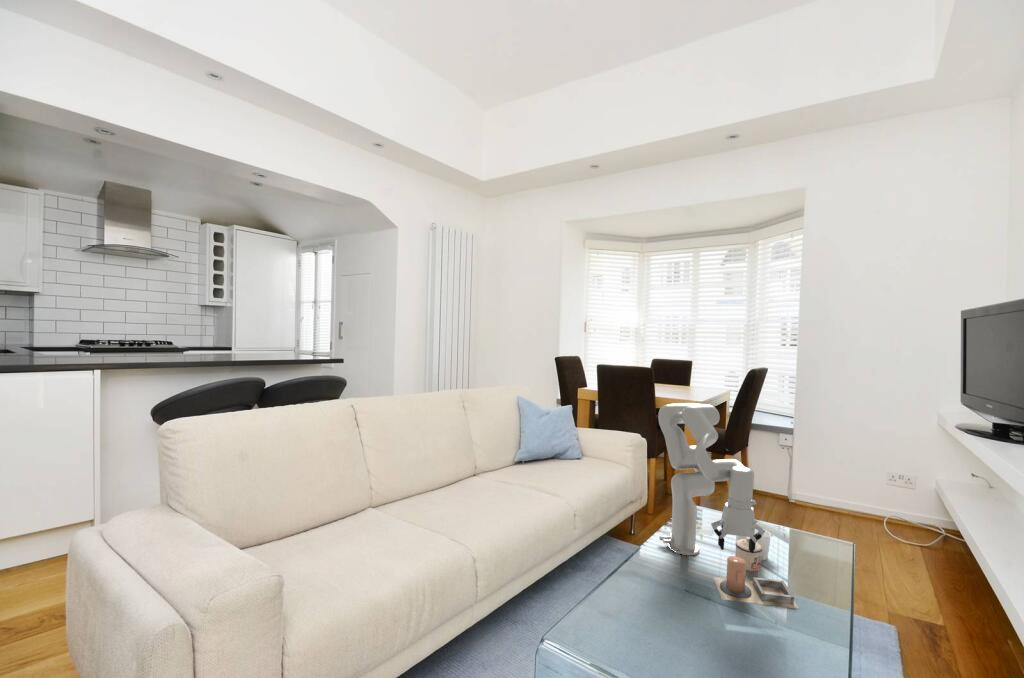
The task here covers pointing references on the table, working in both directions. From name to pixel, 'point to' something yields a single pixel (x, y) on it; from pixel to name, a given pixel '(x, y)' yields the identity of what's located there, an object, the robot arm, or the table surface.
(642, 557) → the table surface
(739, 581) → the peach rounded peg
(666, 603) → the table surface
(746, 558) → the teacup with lid
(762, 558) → the white cup
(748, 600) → the board
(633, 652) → the table surface
